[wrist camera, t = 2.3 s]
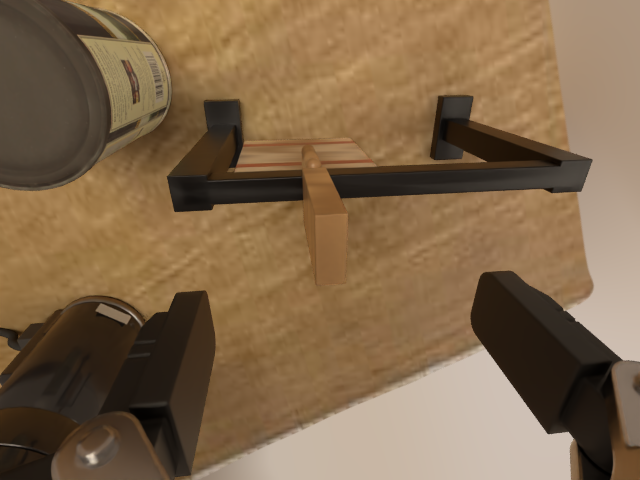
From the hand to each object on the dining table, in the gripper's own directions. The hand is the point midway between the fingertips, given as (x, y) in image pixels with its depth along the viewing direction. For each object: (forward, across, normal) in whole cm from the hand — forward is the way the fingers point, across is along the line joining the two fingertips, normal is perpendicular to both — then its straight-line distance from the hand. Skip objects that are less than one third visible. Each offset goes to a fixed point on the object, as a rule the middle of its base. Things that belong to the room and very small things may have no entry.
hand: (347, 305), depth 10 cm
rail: (+27, -4, 0) cm, 27 cm away
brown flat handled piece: (+22, 0, 0) cm, 22 cm away
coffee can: (+27, +16, -5) cm, 32 cm away
